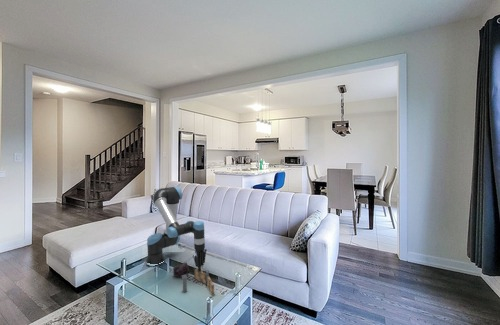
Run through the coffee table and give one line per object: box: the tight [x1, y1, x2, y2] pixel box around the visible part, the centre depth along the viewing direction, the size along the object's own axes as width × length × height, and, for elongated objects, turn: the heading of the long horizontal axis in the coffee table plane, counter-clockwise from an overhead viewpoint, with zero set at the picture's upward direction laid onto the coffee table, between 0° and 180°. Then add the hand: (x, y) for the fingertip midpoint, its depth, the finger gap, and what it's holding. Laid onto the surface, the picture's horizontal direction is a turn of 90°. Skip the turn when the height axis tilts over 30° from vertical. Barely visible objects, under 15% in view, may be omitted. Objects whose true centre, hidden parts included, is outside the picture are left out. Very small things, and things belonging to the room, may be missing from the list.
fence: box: [206, 275, 215, 297], centre depth 152 cm, size 12×1×7 cm, turn 26°
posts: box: [181, 269, 210, 294], centre depth 156 cm, size 3×18×11 cm, turn 116°
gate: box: [193, 267, 206, 285], centre depth 164 cm, size 12×1×7 cm, turn 51°
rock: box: [172, 262, 190, 278], centre depth 172 cm, size 12×9×10 cm
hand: (200, 274), depth 166 cm, fingers closed
